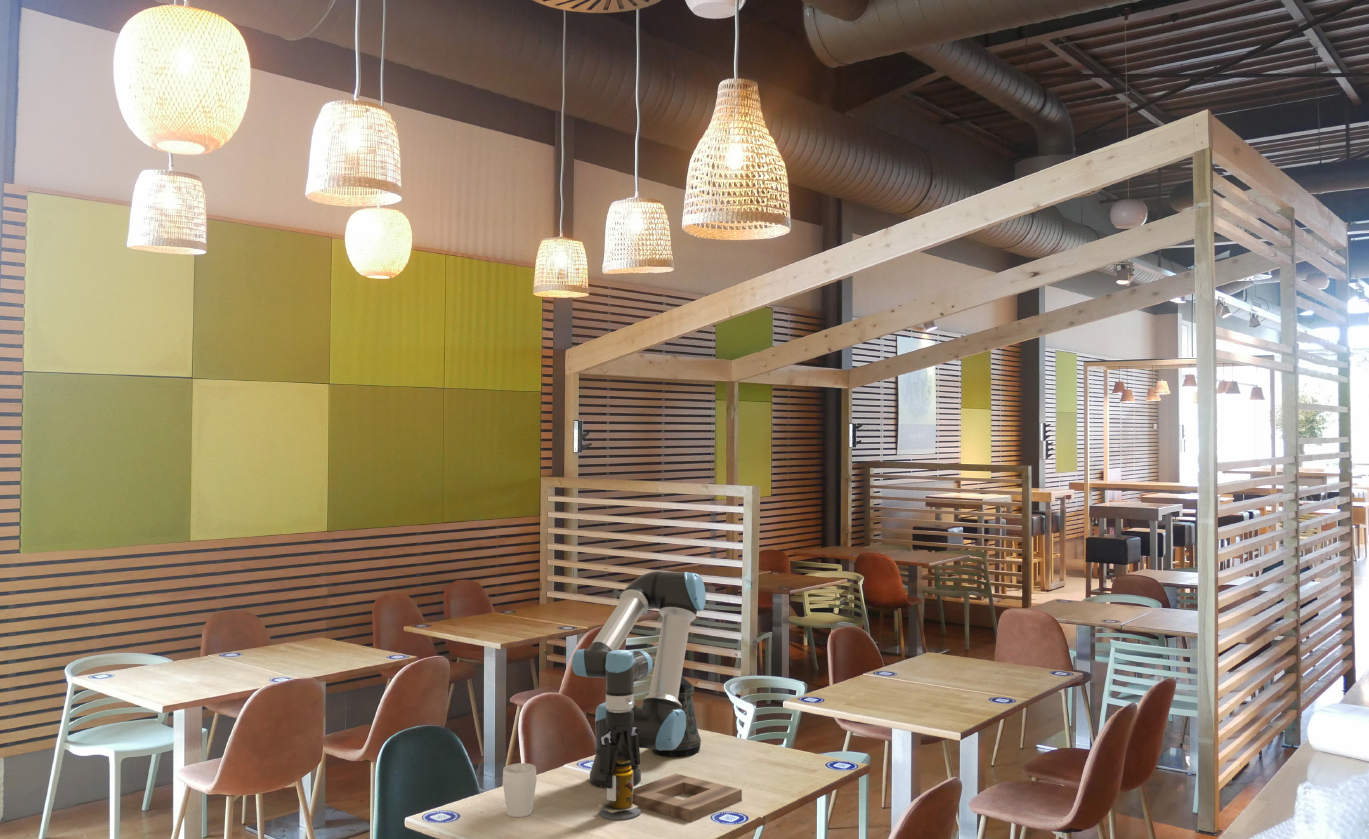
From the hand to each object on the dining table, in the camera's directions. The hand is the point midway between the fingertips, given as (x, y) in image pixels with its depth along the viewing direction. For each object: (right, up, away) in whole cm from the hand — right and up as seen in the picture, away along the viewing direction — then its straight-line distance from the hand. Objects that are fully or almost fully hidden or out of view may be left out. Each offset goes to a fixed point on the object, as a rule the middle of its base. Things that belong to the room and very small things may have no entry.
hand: (620, 796), depth 274 cm
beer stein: (+15, -8, +60) cm, 62 cm away
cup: (-27, -5, 0) cm, 27 cm away
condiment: (0, -3, -1) cm, 3 cm away
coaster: (0, -4, 0) cm, 4 cm away
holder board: (+17, -5, +9) cm, 20 cm away
